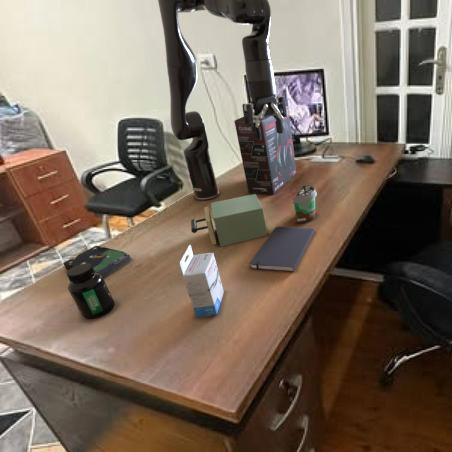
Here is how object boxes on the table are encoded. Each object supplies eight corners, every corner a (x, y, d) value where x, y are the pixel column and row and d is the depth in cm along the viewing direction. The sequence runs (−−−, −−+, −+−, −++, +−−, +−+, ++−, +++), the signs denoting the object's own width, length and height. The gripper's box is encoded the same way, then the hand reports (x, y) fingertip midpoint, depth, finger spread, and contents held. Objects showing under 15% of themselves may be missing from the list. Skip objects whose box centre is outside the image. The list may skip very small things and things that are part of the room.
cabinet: (220, 246, 107) (213, 218, 102) (217, 228, 117) (210, 202, 113) (267, 235, 111) (262, 208, 107) (260, 219, 122) (255, 193, 117)
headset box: (274, 195, 140) (260, 109, 124) (246, 193, 144) (230, 110, 128) (297, 174, 161) (288, 98, 145) (273, 172, 164) (261, 98, 149)
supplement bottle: (107, 318, 81) (86, 276, 75) (76, 322, 81) (53, 280, 75) (120, 299, 87) (102, 259, 81) (92, 302, 87) (72, 262, 81)
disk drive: (65, 271, 100) (100, 280, 95) (61, 263, 99) (96, 271, 94) (99, 252, 109) (132, 259, 103) (95, 244, 107) (129, 251, 102)
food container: (314, 225, 115) (311, 197, 110) (296, 225, 116) (292, 197, 111) (322, 209, 125) (320, 183, 121) (305, 209, 127) (303, 183, 122)
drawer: (195, 248, 105) (189, 225, 101) (194, 232, 114) (188, 210, 111) (256, 234, 110) (252, 212, 107) (250, 219, 120) (246, 199, 116)
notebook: (294, 271, 92) (314, 232, 111) (293, 267, 92) (313, 228, 110) (249, 268, 95) (276, 230, 113) (248, 263, 94) (276, 226, 113)
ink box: (217, 315, 79) (201, 261, 72) (195, 318, 79) (177, 264, 72) (224, 292, 87) (211, 241, 80) (204, 294, 87) (189, 243, 80)
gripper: (271, 74, 104) (278, 130, 111) (231, 81, 94) (242, 140, 102) (288, 75, 99) (295, 132, 107) (248, 81, 90) (259, 144, 98)
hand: (269, 136), depth 104 cm, fingers open, 8 cm apart
